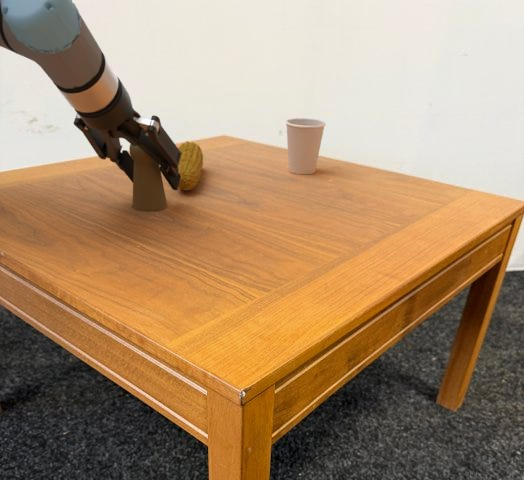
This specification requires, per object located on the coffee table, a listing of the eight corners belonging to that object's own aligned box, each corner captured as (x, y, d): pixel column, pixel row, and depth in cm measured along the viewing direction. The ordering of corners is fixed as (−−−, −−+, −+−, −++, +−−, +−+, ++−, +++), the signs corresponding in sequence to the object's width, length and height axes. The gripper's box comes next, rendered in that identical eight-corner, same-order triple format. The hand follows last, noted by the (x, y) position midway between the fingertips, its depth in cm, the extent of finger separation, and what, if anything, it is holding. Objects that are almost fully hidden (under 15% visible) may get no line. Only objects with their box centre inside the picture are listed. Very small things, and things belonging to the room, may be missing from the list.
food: (177, 167, 118) (175, 138, 115) (203, 167, 119) (202, 138, 115) (172, 196, 100) (170, 163, 97) (203, 197, 101) (202, 163, 98)
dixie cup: (302, 178, 114) (306, 127, 109) (274, 169, 119) (277, 120, 114) (329, 172, 119) (334, 123, 113) (301, 164, 124) (305, 116, 119)
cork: (124, 206, 95) (117, 139, 89) (148, 197, 99) (143, 134, 94) (151, 213, 92) (146, 145, 87) (174, 204, 97) (170, 139, 91)
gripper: (168, 72, 74) (214, 168, 95) (41, 63, 78) (113, 156, 100) (152, 121, 72) (203, 206, 94) (24, 108, 77) (101, 192, 99)
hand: (157, 180), depth 97 cm, fingers open, 7 cm apart
